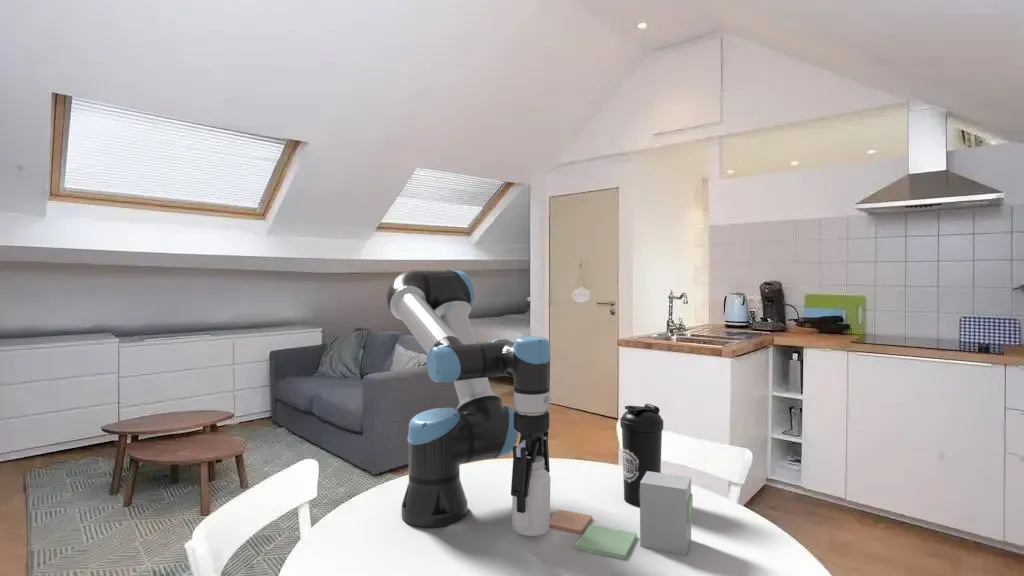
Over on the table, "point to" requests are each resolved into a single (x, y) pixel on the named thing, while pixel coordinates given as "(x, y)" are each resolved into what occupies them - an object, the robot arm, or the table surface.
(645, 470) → the water bottle
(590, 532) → the green pad
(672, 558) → the table surface
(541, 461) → the pill bottle
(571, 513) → the terracotta pad
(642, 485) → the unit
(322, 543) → the table surface
